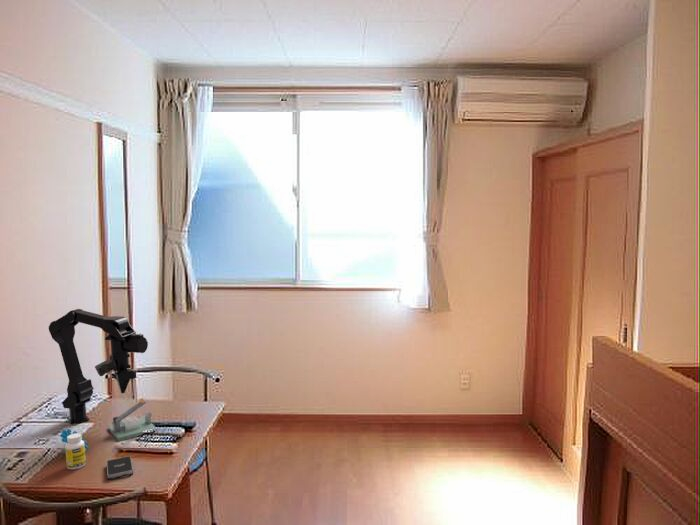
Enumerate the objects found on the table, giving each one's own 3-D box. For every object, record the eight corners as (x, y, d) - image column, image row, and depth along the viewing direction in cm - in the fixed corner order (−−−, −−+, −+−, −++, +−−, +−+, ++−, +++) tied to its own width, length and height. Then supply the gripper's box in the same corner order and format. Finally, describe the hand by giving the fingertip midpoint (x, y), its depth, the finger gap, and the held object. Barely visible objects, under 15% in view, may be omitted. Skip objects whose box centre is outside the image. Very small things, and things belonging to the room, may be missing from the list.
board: (108, 428, 200) (108, 425, 200) (145, 419, 208) (144, 416, 208) (118, 441, 189) (118, 437, 189) (156, 431, 197) (156, 427, 196)
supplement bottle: (73, 471, 168) (70, 440, 167) (63, 467, 170) (60, 437, 169) (89, 464, 172) (87, 434, 171) (79, 460, 175) (77, 430, 174)
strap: (118, 422, 194) (115, 419, 194) (116, 420, 196) (114, 417, 195) (146, 403, 199) (143, 399, 199) (144, 401, 201) (142, 398, 201)
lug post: (145, 425, 203) (144, 410, 202) (148, 424, 203) (147, 409, 203) (148, 428, 199) (147, 413, 199) (152, 427, 200) (151, 412, 199)
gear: (80, 453, 176) (57, 432, 176) (67, 467, 176) (44, 446, 176) (95, 443, 187) (74, 423, 187) (83, 456, 187) (61, 436, 187)
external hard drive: (108, 482, 161) (107, 475, 161) (107, 466, 171) (106, 460, 171) (133, 476, 164) (132, 470, 164) (131, 461, 174) (130, 455, 174)
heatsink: (121, 426, 199) (120, 419, 199) (135, 422, 202) (135, 415, 202) (125, 431, 194) (125, 423, 194) (140, 427, 197) (139, 420, 197)
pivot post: (112, 432, 196) (111, 417, 196) (118, 431, 198) (117, 416, 197) (115, 436, 193) (114, 421, 192) (121, 434, 194) (120, 419, 194)
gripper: (90, 350, 204) (94, 391, 206) (101, 361, 189) (105, 405, 191) (122, 345, 211) (125, 385, 212) (135, 355, 195) (138, 397, 197)
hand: (122, 393), depth 203 cm, fingers closed
